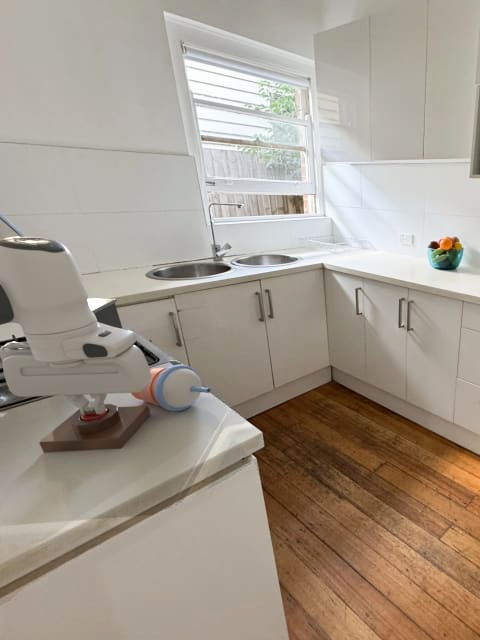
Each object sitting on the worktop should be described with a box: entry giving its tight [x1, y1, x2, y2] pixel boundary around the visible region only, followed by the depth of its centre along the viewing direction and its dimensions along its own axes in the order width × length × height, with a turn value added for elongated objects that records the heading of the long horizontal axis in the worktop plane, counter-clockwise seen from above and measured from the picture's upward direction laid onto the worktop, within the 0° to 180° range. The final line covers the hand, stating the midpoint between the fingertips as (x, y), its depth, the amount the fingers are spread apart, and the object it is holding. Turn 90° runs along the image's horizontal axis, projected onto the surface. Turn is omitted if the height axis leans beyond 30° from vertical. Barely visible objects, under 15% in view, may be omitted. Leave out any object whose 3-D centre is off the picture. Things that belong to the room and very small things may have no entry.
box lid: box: [88, 298, 118, 313], centre depth 87 cm, size 12×12×1 cm
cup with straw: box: [130, 364, 212, 412], centre depth 75 cm, size 9×9×18 cm
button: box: [81, 409, 108, 421], centre depth 67 cm, size 4×4×2 cm
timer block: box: [38, 403, 151, 453], centre depth 68 cm, size 12×10×4 cm
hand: (94, 412), depth 67 cm, fingers closed, pressing on button
